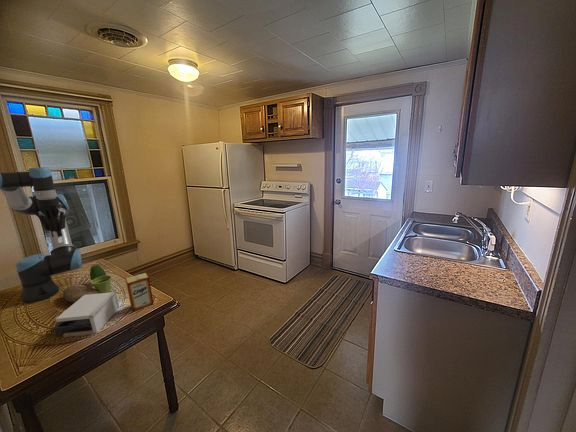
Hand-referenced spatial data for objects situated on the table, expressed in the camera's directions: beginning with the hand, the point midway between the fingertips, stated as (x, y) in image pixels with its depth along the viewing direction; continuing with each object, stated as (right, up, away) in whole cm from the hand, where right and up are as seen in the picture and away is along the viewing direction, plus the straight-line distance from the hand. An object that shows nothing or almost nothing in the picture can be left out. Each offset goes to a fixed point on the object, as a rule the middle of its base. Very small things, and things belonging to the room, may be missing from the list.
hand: (59, 242), depth 127 cm
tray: (+25, -36, -14) cm, 47 cm away
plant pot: (+16, -30, +11) cm, 36 cm away
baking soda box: (+44, -33, -1) cm, 55 cm away
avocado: (+3, -28, +23) cm, 36 cm away
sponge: (+7, -32, +6) cm, 33 cm away
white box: (+28, -36, -13) cm, 47 cm away
